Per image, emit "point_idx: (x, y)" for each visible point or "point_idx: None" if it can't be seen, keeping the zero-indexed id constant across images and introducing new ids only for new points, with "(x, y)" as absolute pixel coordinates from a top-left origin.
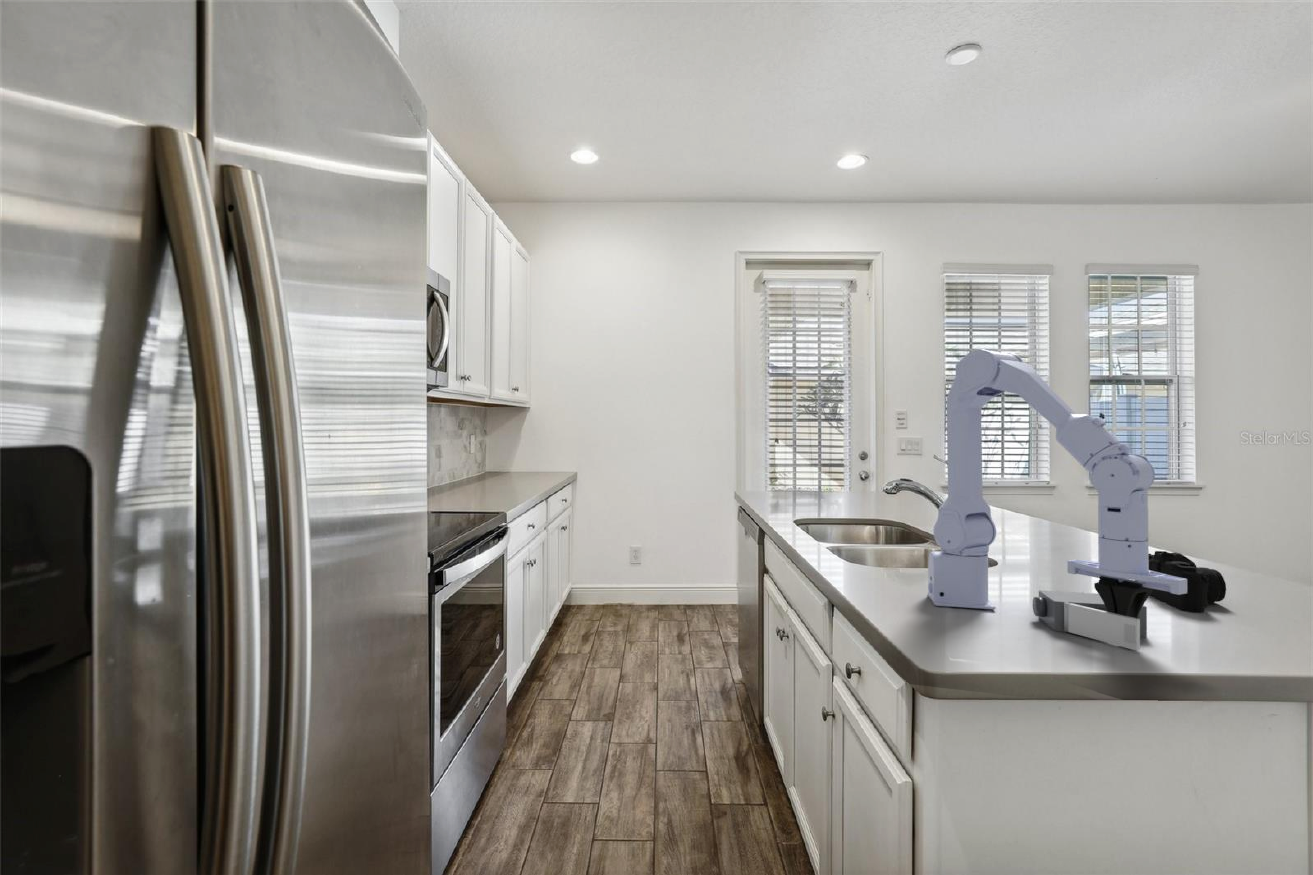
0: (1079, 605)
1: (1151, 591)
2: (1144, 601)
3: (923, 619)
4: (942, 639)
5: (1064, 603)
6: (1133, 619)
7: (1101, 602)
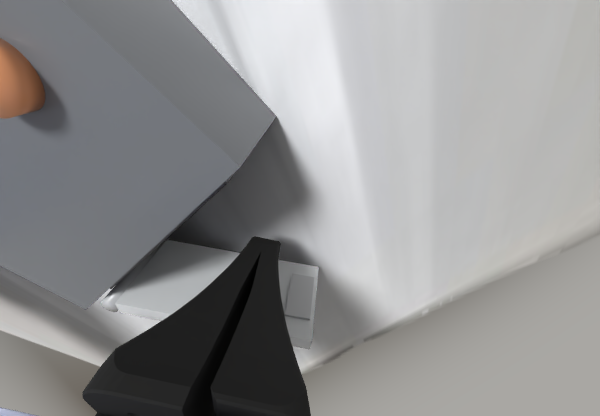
0: (141, 309)
1: (308, 403)
2: (290, 344)
3: (47, 317)
4: None
5: (109, 309)
6: (301, 347)
7: (119, 235)
